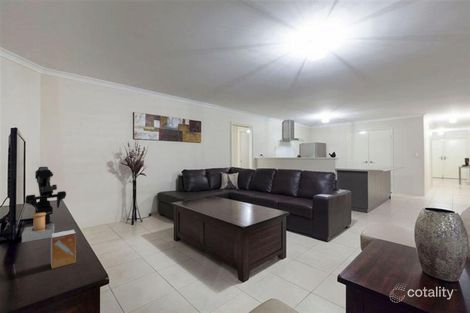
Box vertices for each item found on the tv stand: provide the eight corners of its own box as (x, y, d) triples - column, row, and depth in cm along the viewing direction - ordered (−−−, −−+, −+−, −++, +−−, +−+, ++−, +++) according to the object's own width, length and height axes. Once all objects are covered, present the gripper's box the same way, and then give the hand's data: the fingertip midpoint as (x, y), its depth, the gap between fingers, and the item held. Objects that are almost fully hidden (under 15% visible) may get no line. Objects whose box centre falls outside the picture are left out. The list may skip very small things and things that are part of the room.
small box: (51, 269, 89) (51, 237, 89) (50, 263, 93) (50, 233, 93) (76, 262, 94) (76, 232, 94) (73, 257, 99) (73, 229, 99)
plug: (29, 237, 123) (29, 215, 123) (39, 234, 129) (39, 212, 129) (38, 238, 123) (38, 215, 123) (48, 234, 128) (48, 212, 128)
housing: (21, 242, 117) (21, 234, 117) (25, 235, 127) (25, 227, 127) (53, 236, 125) (53, 229, 125) (54, 230, 135) (54, 223, 135)
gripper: (25, 182, 125) (29, 206, 120) (65, 178, 140) (70, 200, 134) (23, 191, 131) (26, 215, 126) (62, 187, 146) (66, 208, 140)
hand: (48, 209), depth 131 cm, fingers open, 9 cm apart
